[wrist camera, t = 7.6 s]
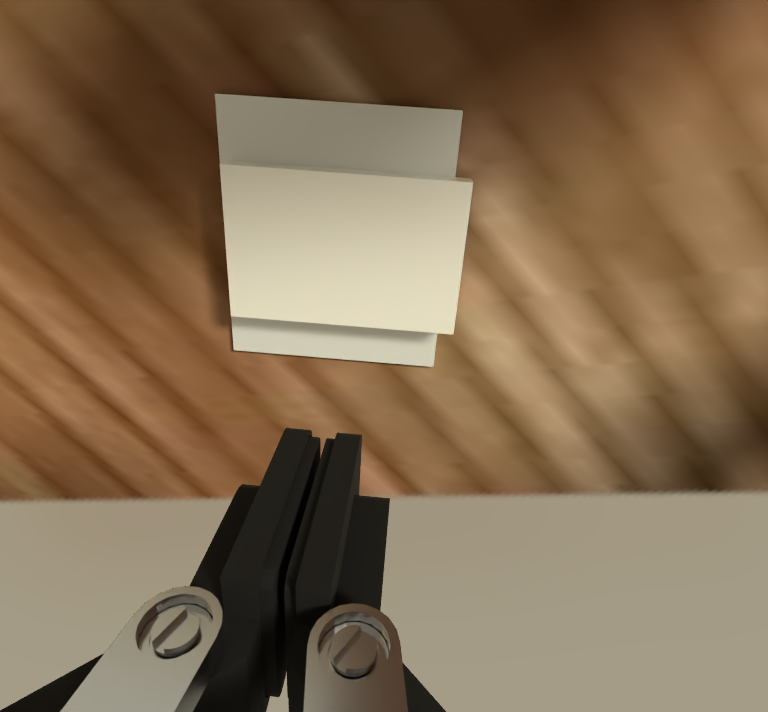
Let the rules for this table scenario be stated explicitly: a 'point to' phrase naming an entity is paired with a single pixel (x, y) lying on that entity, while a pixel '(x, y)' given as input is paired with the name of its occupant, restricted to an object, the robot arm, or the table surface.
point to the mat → (338, 151)
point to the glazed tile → (344, 245)
